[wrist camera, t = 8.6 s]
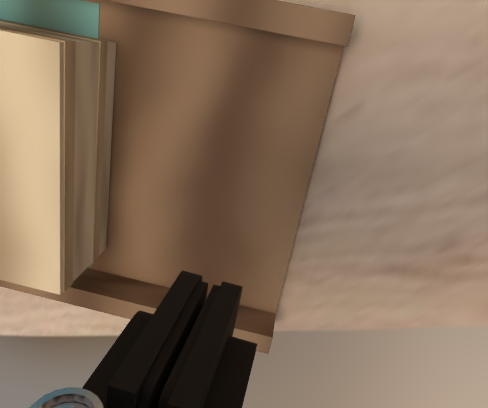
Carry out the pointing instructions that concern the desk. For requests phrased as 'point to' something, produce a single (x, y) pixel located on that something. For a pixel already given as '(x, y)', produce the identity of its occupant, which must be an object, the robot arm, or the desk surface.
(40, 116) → the cream hardcover book
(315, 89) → the bay
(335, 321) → the desk surface
